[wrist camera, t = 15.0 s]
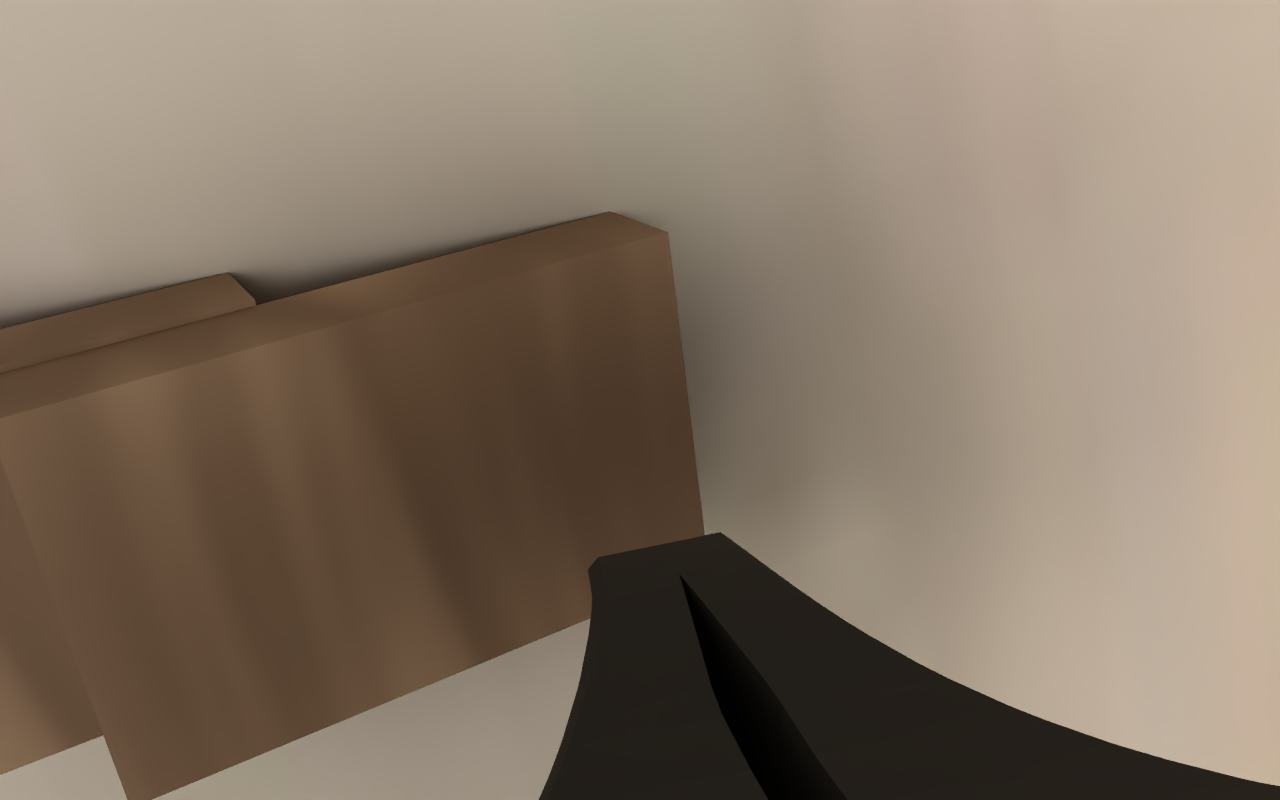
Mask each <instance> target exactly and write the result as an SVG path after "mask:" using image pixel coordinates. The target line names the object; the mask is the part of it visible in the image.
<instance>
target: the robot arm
mask: <svg viewBox="0 0 1280 800" xmlns="http://www.w3.org/2000/svg"><path fill="white" fill-rule="evenodd" d="M588 575H589V581H590V587H591V593H592V610H591V620H590V629H589V636H588V642H587V647H586V652H585V657H584V662H583V667H582V673H581V677H580V682H579V686H578V690H577V693H576V696H575V700H574V703H573V706H572V710H571V713H570V716H569V720H568V723H567V726H566V730H565V733H564V737H563V740H562V743H561V745H560V748H559V751H558V754H557V756H556V759H555V762H554V765H553V767H552V770H551V772H550V775H549V777H548V780H547V782H546V785H545V787H544V789H543V792H542V794H541V796H540V798H539V800H1280V786H1275V785H1270V784H1264V783H1259V782H1254V781H1250V780H1245V779H1241V778H1237V777H1233V776H1229V775H1225V774H1221V773H1217V772H1213V771H1209V770H1205V769H1201V768H1197V767H1194V766H1190V765H1186V764H1182V763H1178V762H1174V761H1170V760H1166V759H1163V758H1159V757H1156V756H1152V755H1149V754H1146V753H1142V752H1139V751H1136V750H1132V749H1129V748H1125V747H1122V746H1119V745H1116V744H1112V743H1109V742H1106V741H1104V740H1101V739H1098V738H1095V737H1092V736H1089V735H1086V734H1083V733H1081V732H1078V731H1075V730H1072V729H1069V728H1066V727H1063V726H1061V725H1058V724H1055V723H1052V722H1049V721H1046V720H1044V719H1041V718H1038V717H1036V716H1033V715H1031V714H1028V713H1026V712H1023V711H1021V710H1018V709H1016V708H1013V707H1011V706H1008V705H1006V704H1004V703H1001V702H999V701H997V700H995V699H993V698H990V697H988V696H986V695H984V694H981V693H979V692H977V691H975V690H973V689H970V688H968V687H966V686H964V685H961V684H959V683H957V682H955V681H953V680H950V679H948V678H946V677H944V676H942V675H940V674H938V673H936V672H934V671H932V670H930V669H928V668H926V667H924V666H923V665H921V664H919V663H917V662H915V661H913V660H912V659H910V658H908V657H906V656H904V655H903V654H901V653H899V652H897V651H896V650H894V649H892V648H890V647H888V646H887V645H885V644H883V643H881V642H880V641H878V640H876V639H874V638H872V637H871V636H869V635H867V634H866V633H864V632H863V631H861V630H859V629H858V628H856V627H854V626H853V625H851V624H849V623H848V622H846V621H845V620H843V619H842V618H840V617H839V616H837V615H836V614H834V613H833V612H831V611H830V610H828V609H827V608H825V607H823V606H822V605H820V604H819V603H817V602H816V601H814V600H813V599H812V598H810V597H809V596H807V595H806V594H804V593H803V592H802V591H800V590H799V589H797V588H796V587H795V586H793V585H792V584H790V583H789V582H788V581H786V580H785V579H784V578H782V577H781V576H779V575H778V574H777V573H775V572H774V571H773V570H771V569H770V568H768V567H767V566H766V565H764V564H763V563H762V562H760V561H759V560H758V559H756V558H755V557H754V556H752V555H751V554H750V553H748V552H747V551H746V550H744V549H743V548H742V547H740V546H739V545H737V544H736V543H735V542H733V541H732V540H730V539H729V538H728V537H726V536H725V535H723V534H722V533H721V532H720V533H715V534H710V535H705V536H700V537H695V538H690V539H685V540H680V541H675V542H670V543H665V544H660V545H655V546H650V547H645V548H640V549H636V550H631V551H626V552H621V553H616V554H611V555H606V556H601V557H598V558H597V559H596V560H595V561H594V563H593V564H592V565H591V566H590V568H589V569H588Z"/></svg>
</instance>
